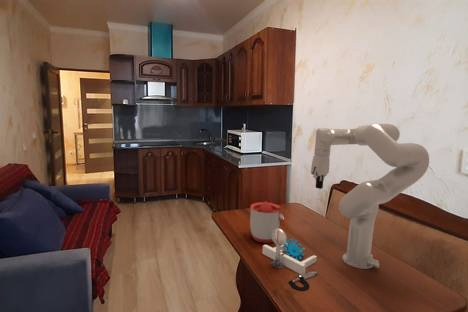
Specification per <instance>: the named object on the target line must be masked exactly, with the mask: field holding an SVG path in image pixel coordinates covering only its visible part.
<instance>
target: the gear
mask: <svg viewBox="0 0 468 312" xmlns="http://www.w3.org/2000/svg"><path fill="white" fill-rule="evenodd" d="M286 243H287V244H288V246H287V244H286ZM286 243H285V244H284V247H286V248H287V249H286V248H284V249H285V251H283V252H286V253H285V254H286V255H288V256H291V257H292V258H294V259H296V260H298V261H301V260H302V259H303V257H304V255H305V254H304V253H303V252H304V250H306V248H305V247H302V244H301V243H298V240H297V239H295V240H294V239H293V238H290V239H287V241H286ZM297 243H298V244H297ZM301 247H302V248H301Z"/></svg>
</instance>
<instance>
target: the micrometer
mask: <svg viewBox="0 0 468 312" xmlns="http://www.w3.org/2000/svg"><path fill="white" fill-rule="evenodd" d="M317 274H318V272H317V271H316V270H314V271H313V270H311V271H309V272H305V274H303V275H301V274H299V275H298V276H296V278H295V279H293V280H288V284H289V285H290V286H291V288H292V289H294V290H295V291H299V292H307V291H308V290H309V289H310V284H309V282H308V281H307V280H308V279H310V278H313V277H315V275H317ZM295 282H299V283H301V284H302V287H301V286H298V285H297V284H296V283H295Z"/></svg>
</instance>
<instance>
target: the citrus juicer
mask: <svg viewBox="0 0 468 312" xmlns="http://www.w3.org/2000/svg"><path fill="white" fill-rule="evenodd" d="M249 206H250V216H249V217H250V219H249V222H250V223H249V227H250V233H251V236H252V239H253V240H255V242H259V243H265V244H267V243H268V244H269V243H272V242H273V240H272V231H273V230H275V229H277V228H280V222H281V220H285V217H284V215H283V214H282V213H281V206H280V205H278V204H276V203H273V202H268V201H264V202H254V203H252V204H250V205H249ZM273 243H274V242H273Z"/></svg>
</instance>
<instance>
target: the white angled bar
mask: <svg viewBox="0 0 468 312" xmlns="http://www.w3.org/2000/svg"><path fill="white" fill-rule="evenodd" d="M286 244H287V243H286ZM287 246H288V244H287ZM284 248H286V247H284V245H282V246H281V250H282V249H284ZM286 249H287V248H286ZM287 250H288V249H287ZM262 254H263V255H264V256H266V257H268V258H269V259H271V260H272V261H274V260H275V255H276V246H274V247H272V246H270V245H268V244H264V245H262ZM286 254H287V253H283V252H281V253H280V263H282V264H283V265H284V267H286V268H287V269H290V270H291V271H293V272H294V273H295V272H296V273H297V274H299V275H303V274H305V273H306V269H307V268H308V267H309V266H311V265H313V264H314V263H317V256H316V255H312V256H309V257H307V258H305V259H303V260H302V261H301V260H299V259H298V260H296V259H295V257H293V258H292V256H291V255H289V256H288V255H286Z"/></svg>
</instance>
